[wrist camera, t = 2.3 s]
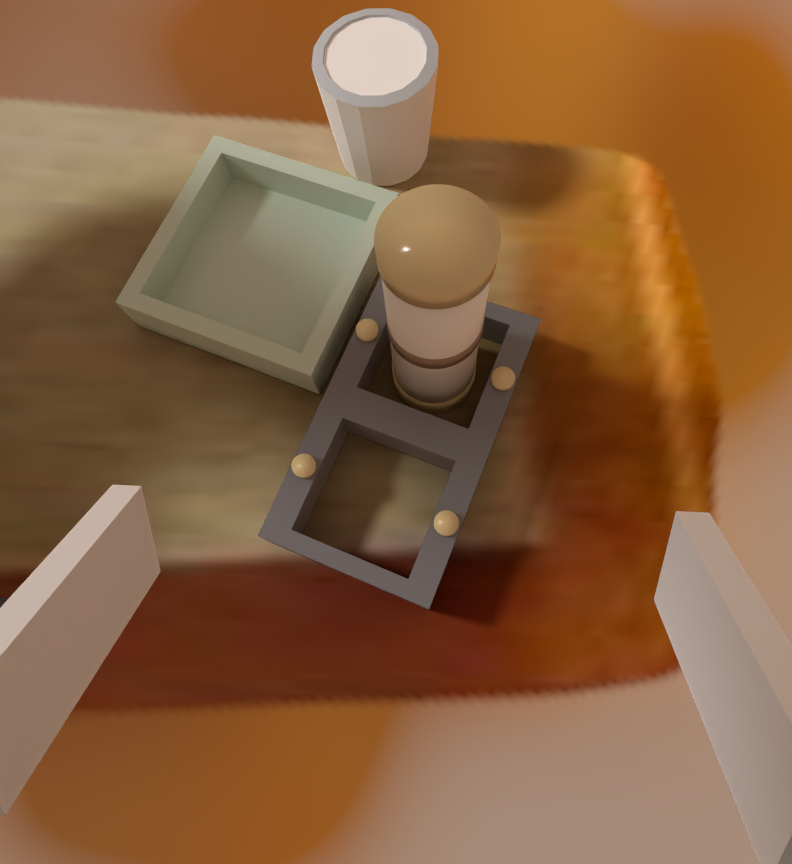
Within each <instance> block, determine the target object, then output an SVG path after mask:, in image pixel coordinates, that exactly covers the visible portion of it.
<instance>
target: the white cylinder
mask: <svg viewBox="0 0 792 864" xmlns="http://www.w3.org/2000/svg"><path fill="white" fill-rule="evenodd" d="M437 67H438V44H437V42H436V40H435V38H434V36H433V34H432V32H431V30H430V28H429V27H427V26H426V25H425V24H423V23H422V22H421V21H419V20H418V19H417V18H416V17H414V16H413V15H410V14H407V13H404V12H401V11H397V10H394V9H391V8H384V9H383V8H382V9H364V10H361V11H358V12H355V13H351V14H348V15H345V16H343V17H342V18H340V19H339V20H337V21H336V22H335V23H333V24H332V25H330V26H329V27H328V28H326V29H325V30H324V32H323V33H322V35H321V36H320V38H319V40H318V41H317V43H316V44H315V46H314V49H313V58H312V70H313V73H314V76H315V79H316V82H317V85H318V88H319V91H320V94H321V98H322V101H323V104H324V107H325V109H326V113H327V116H328V119H329V122H330V125H331V128H332V132H333V135H334V138H335V141H336V144H337V147H338V150H339V153H340V156H341V159H342V161H343V164H344V166H345V169H346V170H347V171H348V172H349V173H350V174H351V175H352V176H353V177H354V178H356V179H357V180H358V181H362V182H365V183H368V184H371V185H374V186H392V185H395V184H398V183H401V182H404V181H407V180H408V179H409V178H411V177H412V176H413V175H414V174H416V173H417V172H418V171H419V170H420V169H421V167H422V165H423V163H424V161H425V160H426V158H427V153H428V144H429V136H430V127H431V118H432V110H433V102H434V93H435V85H436V76H437Z"/></svg>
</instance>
